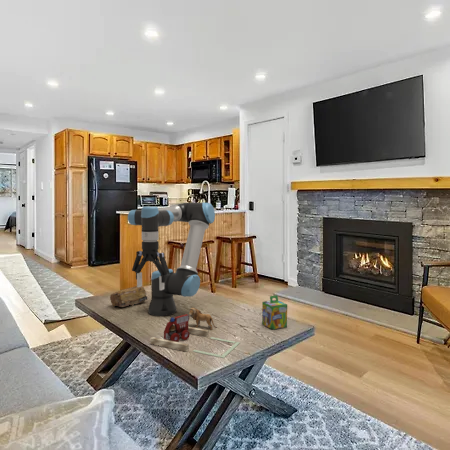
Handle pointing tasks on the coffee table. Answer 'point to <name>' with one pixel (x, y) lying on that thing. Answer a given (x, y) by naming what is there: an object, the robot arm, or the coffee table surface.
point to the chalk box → (274, 313)
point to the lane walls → (176, 344)
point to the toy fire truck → (177, 328)
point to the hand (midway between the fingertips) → (150, 288)
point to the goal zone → (217, 354)
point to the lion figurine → (201, 317)
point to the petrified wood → (128, 296)
